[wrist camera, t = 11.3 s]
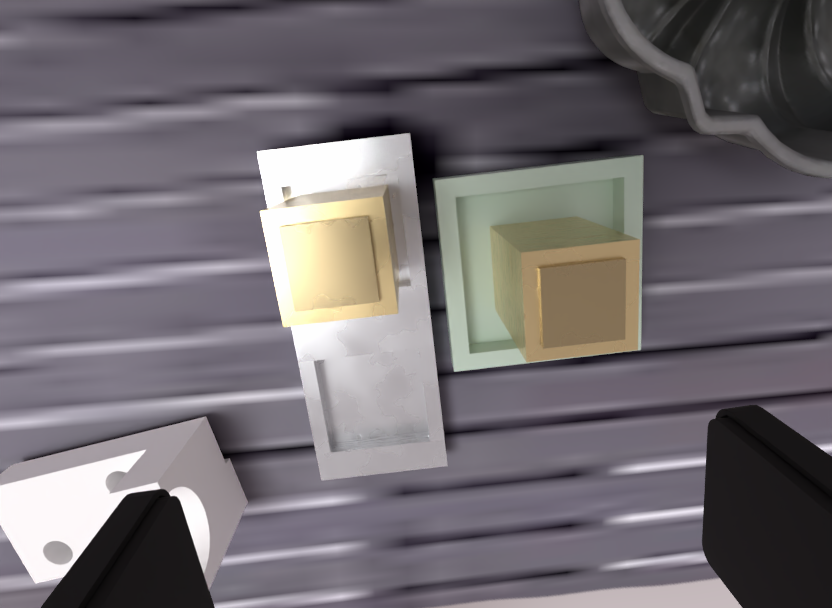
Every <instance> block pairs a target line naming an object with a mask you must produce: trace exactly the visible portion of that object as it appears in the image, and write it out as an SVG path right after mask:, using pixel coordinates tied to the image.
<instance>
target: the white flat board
mask: <svg viewBox="0 0 832 608" xmlns="http://www.w3.org/2000/svg"><path fill="white" fill-rule="evenodd" d="M257 156H258V161H259V166H260V171H261V176H262V181H263V187H264V192H265V197H266V202H267V207H271V206H273V205H276V204H278V203H281V202H283V201H285V200H288V199H290V198H293V197H295V196H298V195H304V194H312V193H320V192H329V191H337V190H345V189H354V188H362V187H370V186H379V185H387V184H388V188H389V195H390V203H391V211H392V219H393V227H394V234H395V242H396V250H397V258H398V266H399V303H398V314H391V315H382V316H374V317H365V318H357V319H348V320H340V321H331V322H323V323H314V324H306V325H297V326H291V329H292V334H293V339H294V344H295V349H296V354H297V359H298V364H299V369H300V374H301V379H302V384H303V389H304V394H305V400H306V405H307V410H308V415H309V420H310V425H311V430H312V435H313V440H314V445H315V450H316V455H317V460H318V465H319V471H320V476H321V481H322V480H330V479H339V478H348V477H356V476H365V475H374V474H382V473H391V472H400V471H408V470H417V469H426V468H434V467H443V466H448V465H447V457H446V448H445V439H444V430H443V421H442V412H441V403H440V395H439V386H438V377H437V368H436V359H435V350H434V342H433V333H432V324H431V315H430V306H429V297H428V288H427V280H426V271H425V262H424V253H423V244H422V235H421V226H420V218H419V209H418V200H417V191H416V182H415V173H414V164H413V156H412V147H411V138H410V133H406V134H398V135H389V136H381V137H373V138H365V139H356V140H348V141H340V142H332V143H323V144H315V145H307V146H299V147H290V148H282V149H274V150H265V151H257Z"/></svg>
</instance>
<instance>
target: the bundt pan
mask: <svg viewBox="0 0 832 608" xmlns="http://www.w3.org/2000/svg"><path fill="white" fill-rule="evenodd" d="M579 6H580V12H581V17H582V21H583V24H584V26H585V29H586V31H587V33H588V35H589V37H590V38H591V40H592V41H593V43H594V44H595V45H596V47H597V48H598V49H599V50H600V51H601V52H602V53H603V54H604V55H605V56H606V57H608V58H609V59H611V60H612V61H614V62H615V63H617V64H619V65H621V66H623V67H626V68H629V69H632V70H636V71H637V74H638V79H639V84H640V88H641V93H642V97H643V101H644V104H645V106H646V108H647V109H648V110H649V111H651V112H653V113H655V114H661V115H667V116H672V117H678V118H684V119H687V120H688V123H689V124H690V126H691V127H692V129H693V130H694V131H696V132H698V133H700V134H706V135H715V136H717V137H718V138H720V139H723V140H725V141H728V142H730V143H733V144H738V145H742V146H745V147H749V148H753V149H756V150H760V151H761V152H762V153H763V154H764V155H765V156H766V157H767V158H769V159H771V160H772V161H774V162H775V163H777V164H779V165H780V166H782V167H784V168H786V169H789V170H791V171H794V172H797V173H800V174H804V175H807V176H813V177H820V178H832V0H579Z"/></svg>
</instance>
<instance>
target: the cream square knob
mask: <svg viewBox="0 0 832 608" xmlns="http://www.w3.org/2000/svg"><path fill="white" fill-rule="evenodd" d="M260 214H261V219H262V224H263V229H264V234H265V239H266V244H267V249H268V254H269V259H270V264H271V269H272V274H273V279H274V283H275V288H276V293H277V298H278V303H279V308H280V313H281V318H282V323H283V327H289V326H297V325H306V324H314V323H323V322H331V321H340V320H348V319H357V318H365V317H374V316H382V315H391V314H398V303H399V266H398V258H397V250H396V242H395V234H394V227H393V219H392V211H391V203H390V195H389V188H388V184H387V185H379V186H370V187H362V188H354V189H345V190H337V191H329V192H320V193H312V194H304V195H298V196H295V197H293V198H290V199H288V200H285V201H283V202H281V203H278V204H276V205H273V206H271V207H268V208H266V209H264V210H261V211H260Z"/></svg>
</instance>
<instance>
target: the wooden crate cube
mask: <svg viewBox="0 0 832 608" xmlns="http://www.w3.org/2000/svg"><path fill="white" fill-rule="evenodd" d="M490 239H491V254H492V269H493V284H494V298H495V310H496V312H497V313H498V315H499V317H500V318H501V320H502V322H503V323H504V325H505V327H506V329H507V330H508V332H509V334H510V335H511V337H512V339H513V340H514V342H515V344H516V345H517V347H518V349H519V351H520V352H521V354H522V356H523V357H524V359H525V361H526V362H535V361H544V360H553V359H562V358H571V357H580V356H589V355H598V354H607V353H616V352H625V351H633V350H638V322H639V263H640V239H638V238H635V237H632V236H630V235H627V234H624V233H621V232H619V231H616V230H613V229H610V228H608V227H605V226H602V225H599V224H597V223H594V222H591V221H589V220H586V219H583V218H580V217H578V216H575V217H567V218H558V219H549V220H540V221H531V222H522V223H514V224H505V225H496V226H490Z"/></svg>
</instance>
